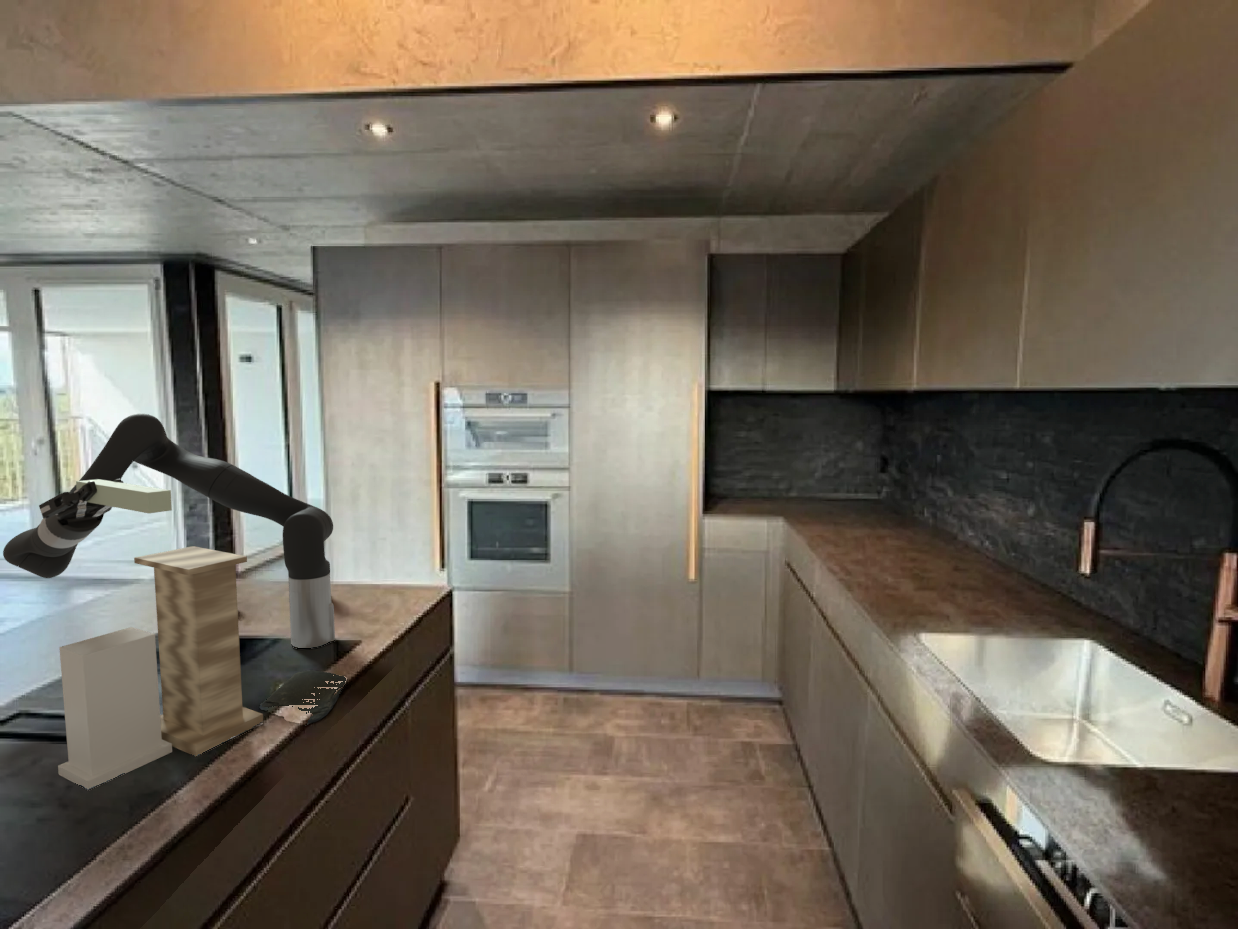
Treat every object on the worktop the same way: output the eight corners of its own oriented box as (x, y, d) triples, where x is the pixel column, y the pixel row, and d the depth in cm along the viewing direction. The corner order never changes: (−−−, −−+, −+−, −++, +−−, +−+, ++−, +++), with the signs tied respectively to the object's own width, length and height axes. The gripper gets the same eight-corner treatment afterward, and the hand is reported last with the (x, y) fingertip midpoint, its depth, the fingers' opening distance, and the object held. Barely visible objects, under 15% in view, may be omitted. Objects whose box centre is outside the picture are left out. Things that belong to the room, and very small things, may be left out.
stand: (139, 732, 113) (127, 558, 110) (207, 703, 124) (198, 545, 121) (196, 756, 106) (185, 571, 103) (263, 724, 117) (255, 555, 113)
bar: (77, 500, 115) (76, 481, 115) (100, 497, 118) (98, 479, 118) (148, 513, 104) (147, 492, 104) (171, 510, 107) (170, 490, 107)
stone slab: (255, 686, 133) (254, 677, 132) (341, 669, 142) (341, 660, 142) (261, 738, 113) (260, 727, 112) (361, 714, 122) (361, 704, 122)
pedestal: (58, 774, 100) (48, 648, 98) (142, 738, 111) (134, 624, 109) (88, 790, 96) (78, 659, 94) (172, 752, 107) (164, 633, 105)
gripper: (16, 510, 115) (51, 469, 107) (107, 500, 127) (144, 462, 120) (28, 547, 114) (65, 509, 106) (118, 533, 126) (157, 498, 119)
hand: (107, 484), depth 113 cm, fingers closed on bar, 3 cm apart
